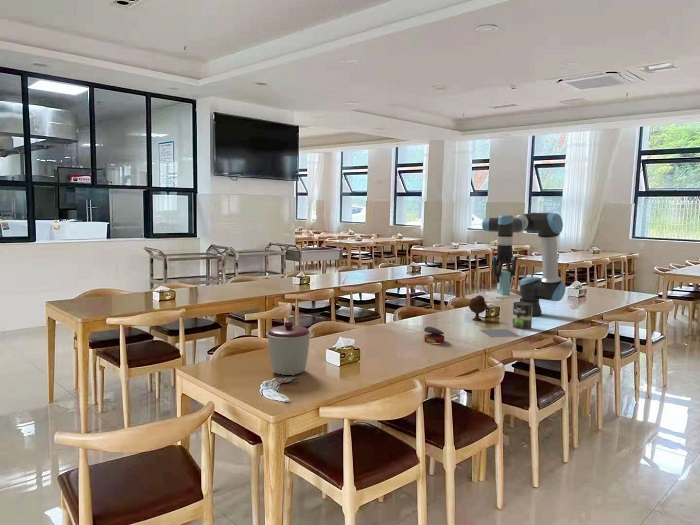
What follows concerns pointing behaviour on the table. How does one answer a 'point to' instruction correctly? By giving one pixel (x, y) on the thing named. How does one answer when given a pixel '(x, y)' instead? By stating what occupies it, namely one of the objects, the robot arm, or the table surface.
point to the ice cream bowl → (477, 306)
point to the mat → (499, 333)
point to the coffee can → (522, 315)
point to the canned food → (433, 335)
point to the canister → (288, 348)
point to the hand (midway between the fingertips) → (503, 288)
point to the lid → (504, 288)
